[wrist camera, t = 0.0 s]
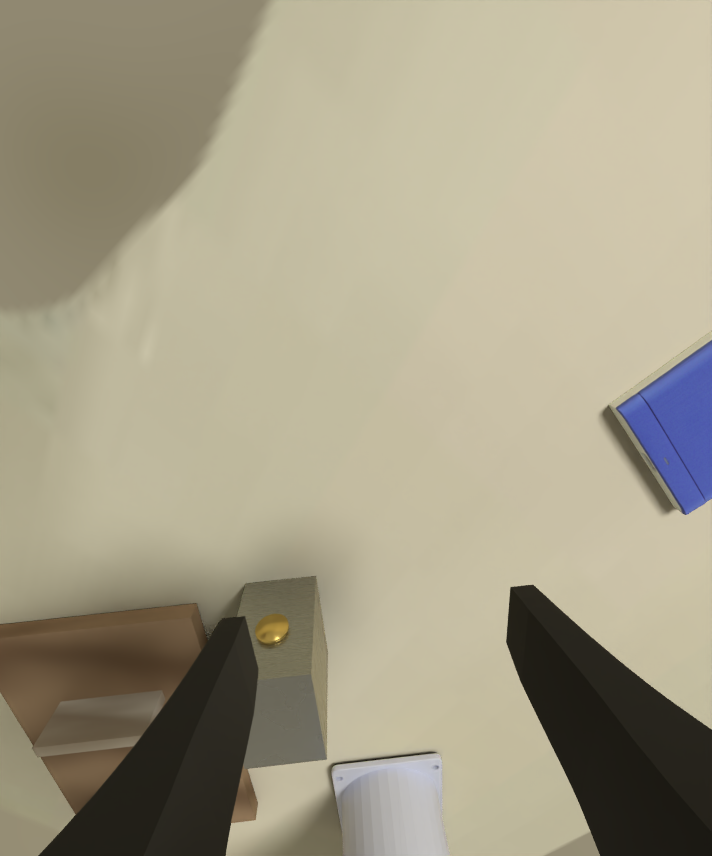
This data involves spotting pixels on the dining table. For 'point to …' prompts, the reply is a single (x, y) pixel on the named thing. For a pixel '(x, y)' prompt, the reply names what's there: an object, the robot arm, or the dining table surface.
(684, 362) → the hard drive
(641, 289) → the dining table surface
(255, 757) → the block
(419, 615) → the dining table surface
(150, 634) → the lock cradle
